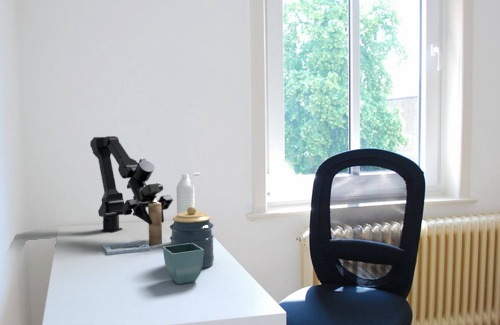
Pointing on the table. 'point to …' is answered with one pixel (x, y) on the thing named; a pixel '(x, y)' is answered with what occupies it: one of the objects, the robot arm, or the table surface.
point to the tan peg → (155, 223)
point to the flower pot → (183, 262)
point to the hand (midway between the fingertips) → (157, 223)
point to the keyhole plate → (120, 249)
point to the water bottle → (185, 193)
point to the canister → (194, 232)
